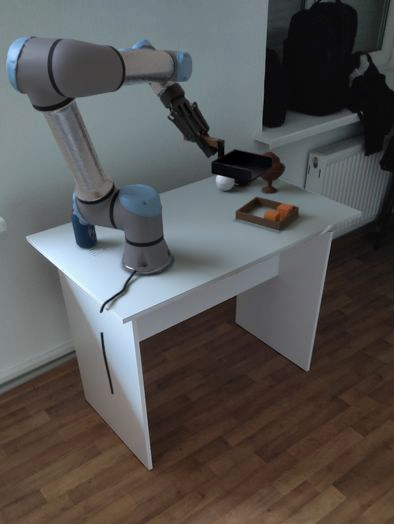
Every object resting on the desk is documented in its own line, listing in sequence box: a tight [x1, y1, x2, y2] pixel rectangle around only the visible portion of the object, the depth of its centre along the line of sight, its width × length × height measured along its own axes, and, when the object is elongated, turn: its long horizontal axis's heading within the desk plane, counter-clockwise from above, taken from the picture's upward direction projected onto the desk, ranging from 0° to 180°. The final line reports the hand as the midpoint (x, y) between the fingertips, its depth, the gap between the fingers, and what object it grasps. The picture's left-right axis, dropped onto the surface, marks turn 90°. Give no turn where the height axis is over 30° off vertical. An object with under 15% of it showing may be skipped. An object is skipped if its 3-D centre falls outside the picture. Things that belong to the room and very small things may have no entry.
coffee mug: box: [233, 179, 250, 188], centre depth 200 cm, size 12×9×10 cm
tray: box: [235, 196, 300, 232], centre depth 177 cm, size 17×14×4 cm
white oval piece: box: [215, 175, 235, 192], centre depth 195 cm, size 10×7×7 cm
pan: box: [182, 134, 273, 184], centre depth 157 cm, size 29×13×8 cm, turn 54°
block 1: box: [263, 208, 281, 222], centre depth 172 cm, size 4×4×4 cm
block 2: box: [276, 202, 294, 220], centre depth 176 cm, size 4×4×4 cm
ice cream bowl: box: [259, 151, 286, 194], centre depth 191 cm, size 11×11×15 cm
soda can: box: [70, 208, 98, 250], centre depth 164 cm, size 7×7×12 cm
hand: (213, 154), depth 159 cm, fingers closed on pan, 2 cm apart
